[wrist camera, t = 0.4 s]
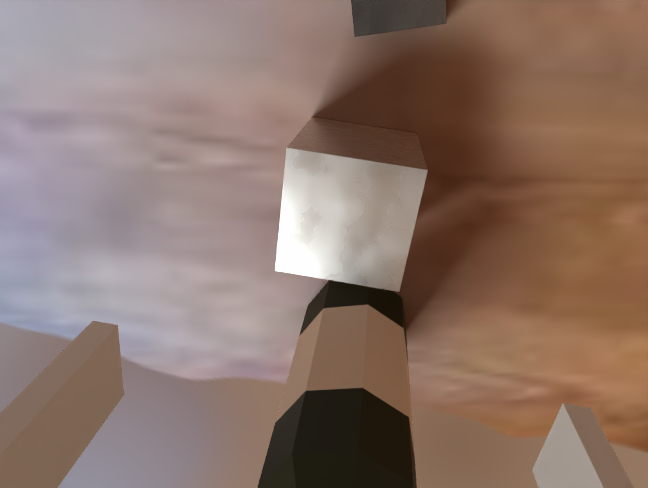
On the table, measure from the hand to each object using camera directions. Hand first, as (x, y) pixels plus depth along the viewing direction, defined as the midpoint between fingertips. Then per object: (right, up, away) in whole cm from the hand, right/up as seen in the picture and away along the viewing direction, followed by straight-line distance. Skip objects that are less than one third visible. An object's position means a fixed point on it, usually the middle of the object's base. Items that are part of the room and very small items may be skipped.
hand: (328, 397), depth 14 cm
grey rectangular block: (+2, +9, +19) cm, 21 cm away
